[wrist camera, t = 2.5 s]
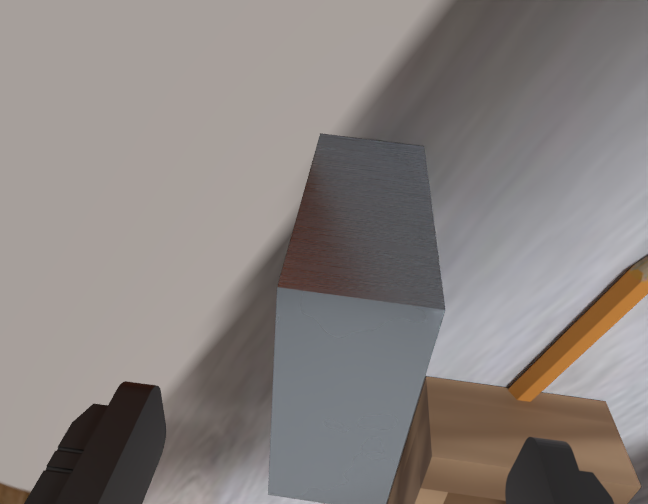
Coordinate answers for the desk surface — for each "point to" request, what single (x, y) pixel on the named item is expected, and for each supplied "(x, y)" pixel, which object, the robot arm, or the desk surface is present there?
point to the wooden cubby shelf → (500, 443)
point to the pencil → (584, 332)
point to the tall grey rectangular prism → (353, 322)
